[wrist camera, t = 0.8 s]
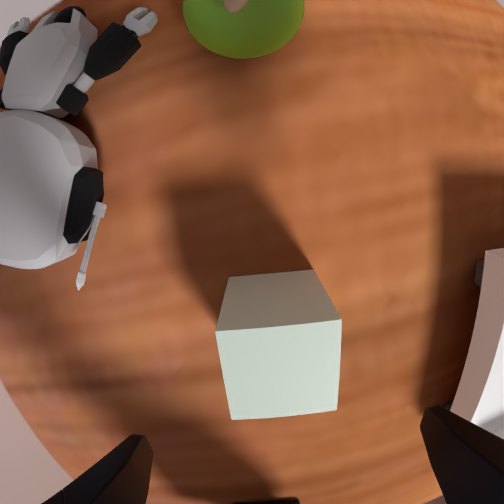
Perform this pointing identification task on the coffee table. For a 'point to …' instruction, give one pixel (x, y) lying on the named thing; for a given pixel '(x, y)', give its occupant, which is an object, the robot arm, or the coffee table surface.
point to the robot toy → (54, 133)
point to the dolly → (485, 352)
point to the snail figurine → (243, 25)
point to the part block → (279, 345)
